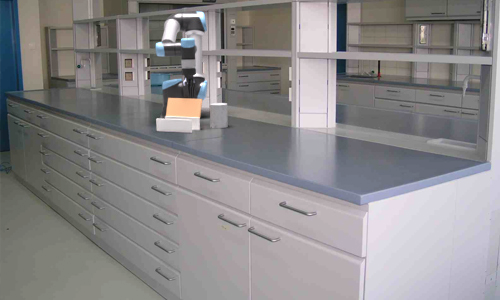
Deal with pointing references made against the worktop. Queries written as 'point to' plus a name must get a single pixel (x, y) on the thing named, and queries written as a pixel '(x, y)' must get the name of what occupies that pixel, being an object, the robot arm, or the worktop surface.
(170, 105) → the duct cover
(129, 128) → the worktop surface
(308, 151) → the worktop surface
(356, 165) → the worktop surface
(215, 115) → the grey concrete cylinder
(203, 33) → the robot arm
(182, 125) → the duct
